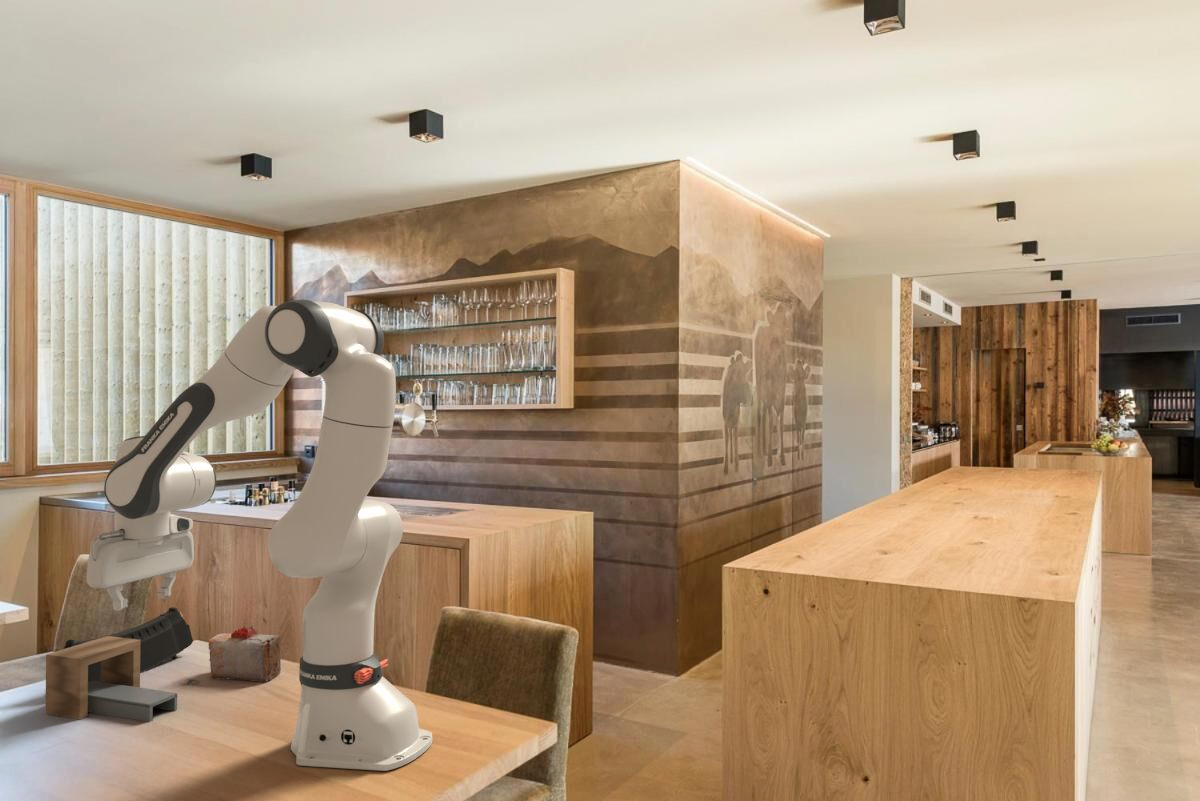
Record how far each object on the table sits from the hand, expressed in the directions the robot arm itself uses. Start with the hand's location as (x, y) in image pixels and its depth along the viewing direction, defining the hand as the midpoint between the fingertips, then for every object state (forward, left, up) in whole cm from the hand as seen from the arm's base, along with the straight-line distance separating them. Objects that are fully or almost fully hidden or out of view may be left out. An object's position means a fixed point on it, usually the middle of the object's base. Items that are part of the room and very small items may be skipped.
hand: (142, 603), depth 149 cm
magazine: (+19, -14, -20) cm, 31 cm away
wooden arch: (+11, 0, -19) cm, 22 cm away
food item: (-3, -22, -20) cm, 29 cm away
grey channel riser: (+5, 0, -19) cm, 20 cm away
